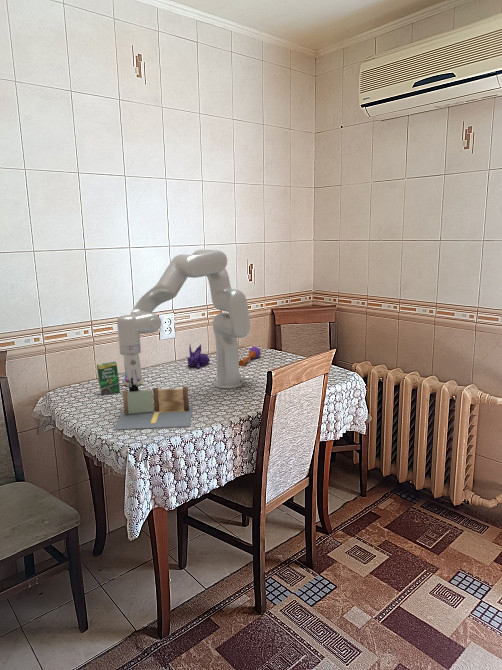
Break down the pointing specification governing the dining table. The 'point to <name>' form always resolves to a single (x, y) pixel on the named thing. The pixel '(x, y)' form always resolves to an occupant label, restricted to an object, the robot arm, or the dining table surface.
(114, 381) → the coffee box
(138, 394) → the fence gate
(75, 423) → the dining table surface
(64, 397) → the dining table surface
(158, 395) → the fence fixed
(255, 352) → the kendama
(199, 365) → the creature
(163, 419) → the card
